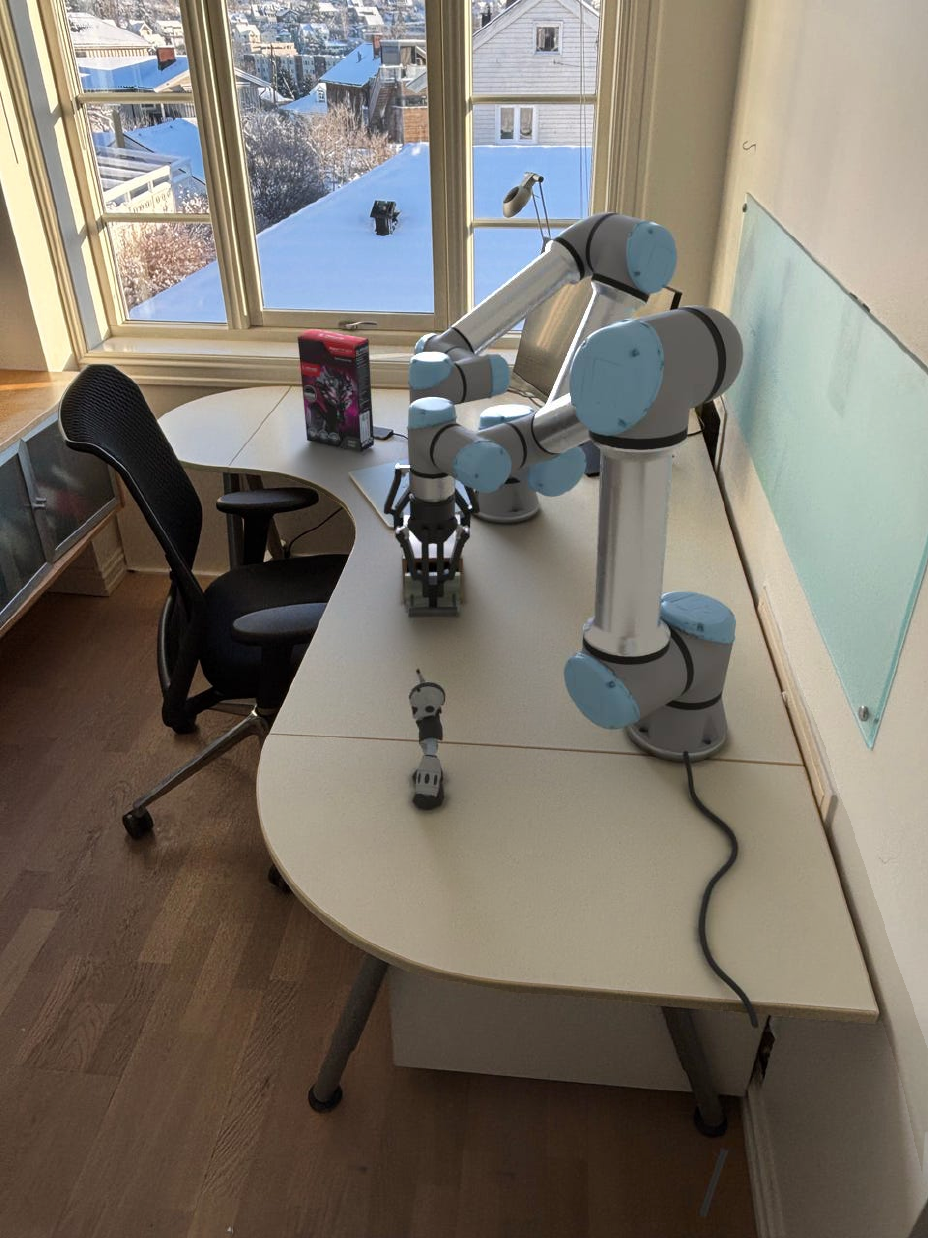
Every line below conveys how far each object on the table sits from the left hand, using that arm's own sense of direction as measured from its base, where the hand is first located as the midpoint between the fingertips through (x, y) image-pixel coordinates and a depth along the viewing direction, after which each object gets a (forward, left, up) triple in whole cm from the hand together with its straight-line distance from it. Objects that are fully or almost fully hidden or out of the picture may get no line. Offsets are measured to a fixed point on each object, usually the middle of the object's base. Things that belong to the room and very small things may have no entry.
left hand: (432, 543), depth 182 cm
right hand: (+19, +10, -2) cm, 22 cm away
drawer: (+12, +6, -4) cm, 14 cm away
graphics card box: (-43, -49, -5) cm, 65 cm away
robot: (+56, +29, -5) cm, 64 cm away
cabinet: (+5, +2, -5) cm, 7 cm away
